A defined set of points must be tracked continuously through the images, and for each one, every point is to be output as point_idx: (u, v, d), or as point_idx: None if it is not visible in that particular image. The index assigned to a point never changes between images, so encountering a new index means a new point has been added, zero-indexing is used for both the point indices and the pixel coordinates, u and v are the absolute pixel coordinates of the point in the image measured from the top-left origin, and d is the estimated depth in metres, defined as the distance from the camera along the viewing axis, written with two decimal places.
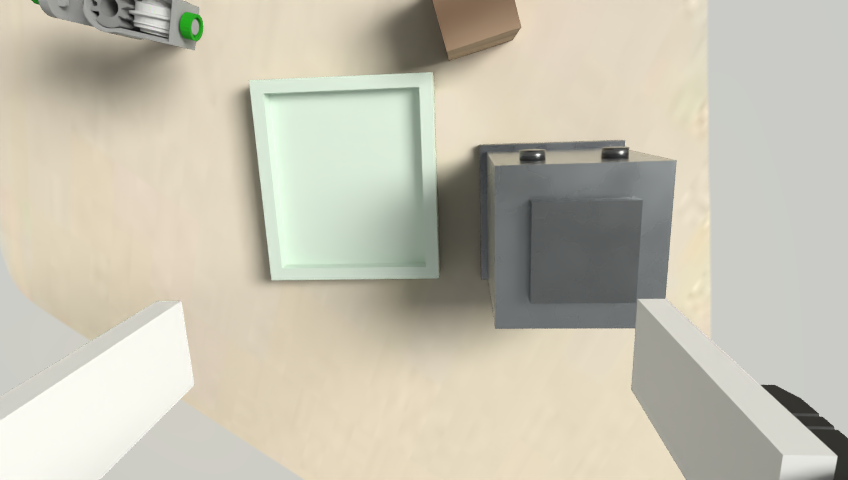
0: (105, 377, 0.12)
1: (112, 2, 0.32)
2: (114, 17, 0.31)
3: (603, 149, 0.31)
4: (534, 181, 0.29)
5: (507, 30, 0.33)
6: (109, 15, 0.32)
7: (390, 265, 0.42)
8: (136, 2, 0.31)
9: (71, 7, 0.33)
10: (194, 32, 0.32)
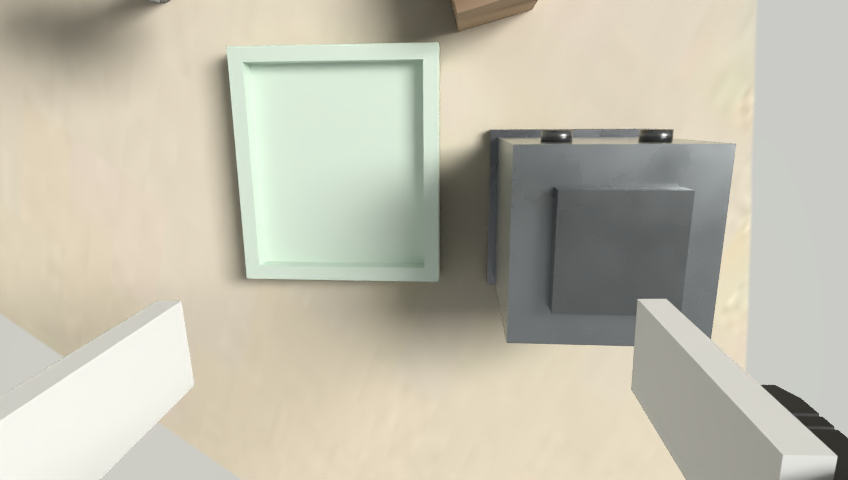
0: (106, 377, 0.12)
1: None
2: None
3: (642, 131, 0.26)
4: (561, 164, 0.24)
5: None
6: None
7: (383, 265, 0.37)
8: None
9: None
10: None
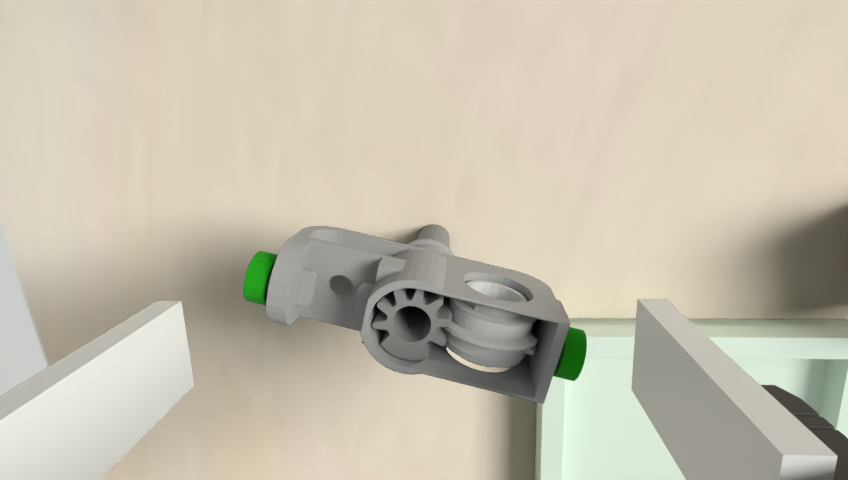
0: (105, 377, 0.12)
1: None
2: (420, 343, 0.15)
3: None
4: None
5: None
6: (399, 325, 0.16)
7: None
8: (465, 313, 0.15)
9: None
10: None
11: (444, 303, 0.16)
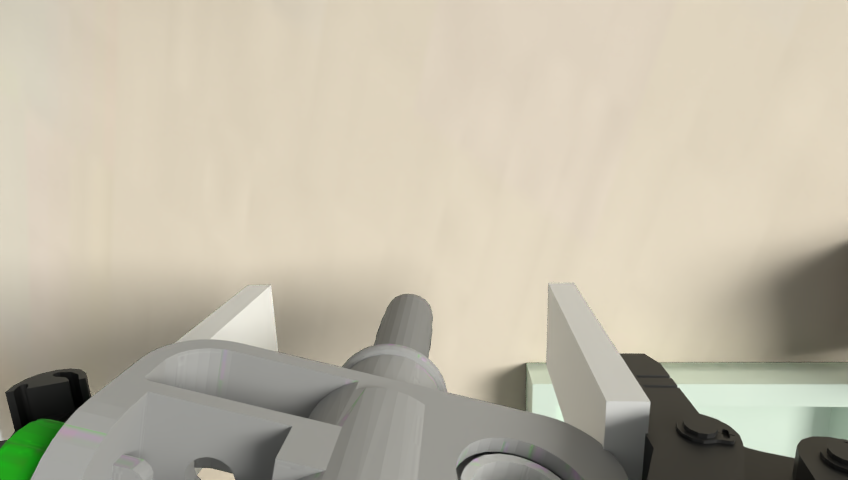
0: None
1: None
2: None
3: None
4: None
5: None
6: None
7: None
8: None
9: None
10: None
11: None
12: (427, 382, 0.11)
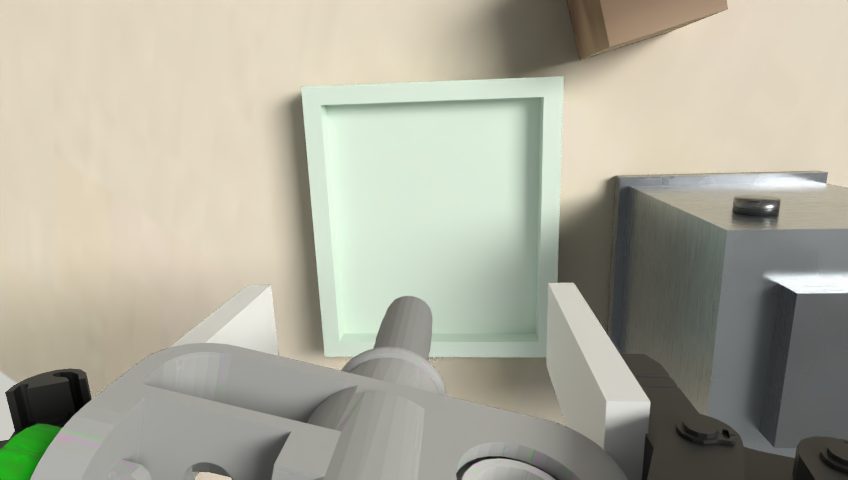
0: None
1: None
2: None
3: None
4: (792, 255, 0.18)
5: (706, 14, 0.22)
6: None
7: (487, 338, 0.31)
8: None
9: None
10: None
11: None
12: (427, 385, 0.11)
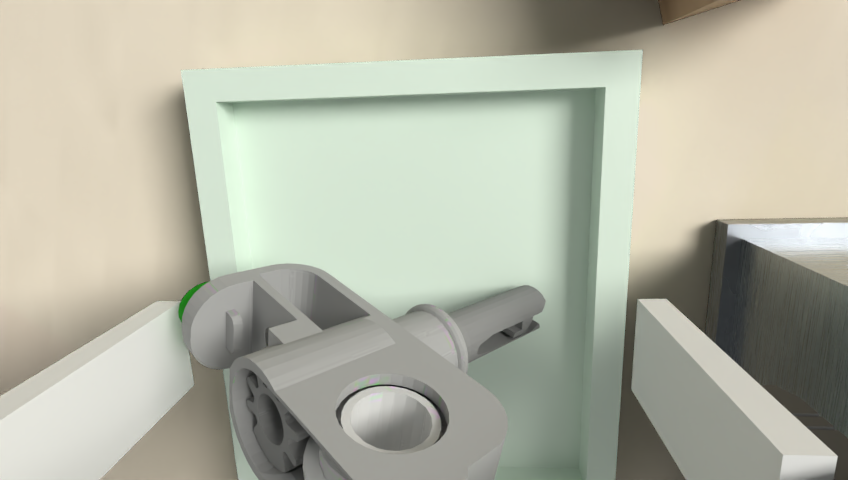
0: (105, 377, 0.12)
1: None
2: (277, 449, 0.11)
3: None
4: None
5: None
6: None
7: (502, 478, 0.19)
8: None
9: (256, 340, 0.14)
10: None
11: None
12: (439, 340, 0.13)
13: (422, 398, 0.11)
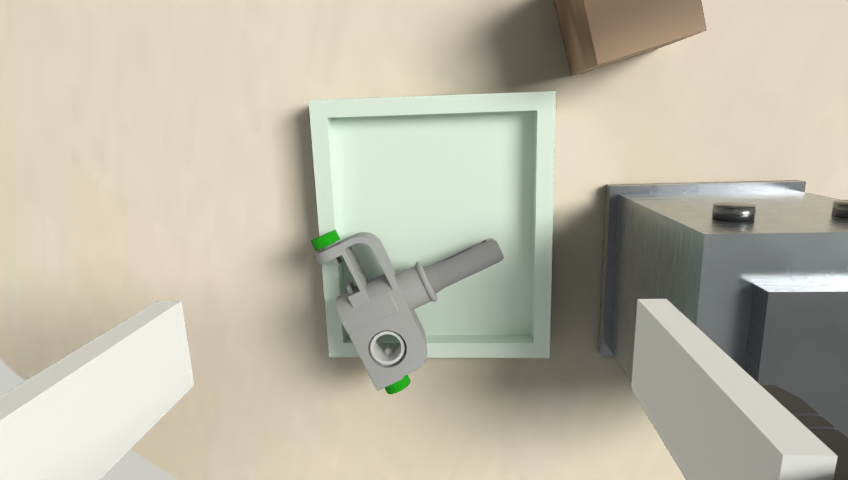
0: (105, 377, 0.12)
1: None
2: None
3: (841, 205, 0.22)
4: (764, 256, 0.20)
5: (686, 35, 0.24)
6: None
7: (485, 339, 0.32)
8: None
9: None
10: None
11: None
12: (422, 300, 0.29)
13: (401, 339, 0.30)
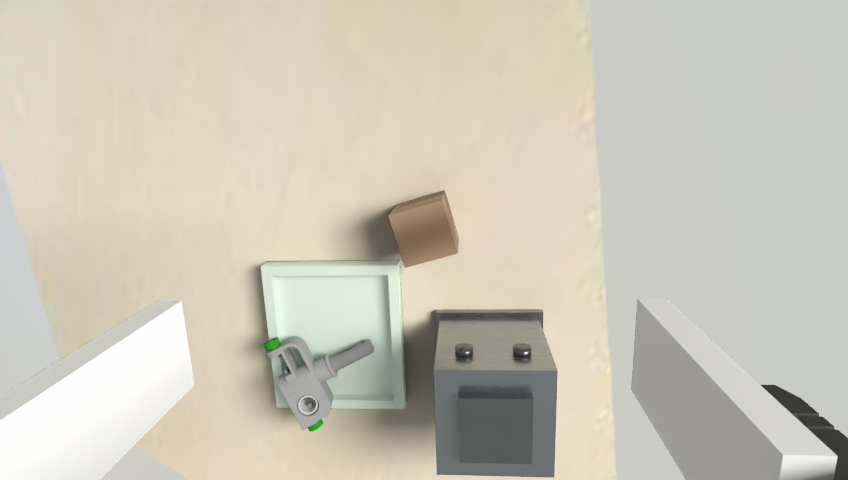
0: (105, 377, 0.12)
1: None
2: None
3: (513, 349, 0.44)
4: (461, 380, 0.42)
5: (448, 255, 0.46)
6: None
7: (368, 397, 0.55)
8: None
9: None
10: None
11: None
12: (327, 376, 0.52)
13: (316, 399, 0.52)
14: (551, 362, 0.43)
